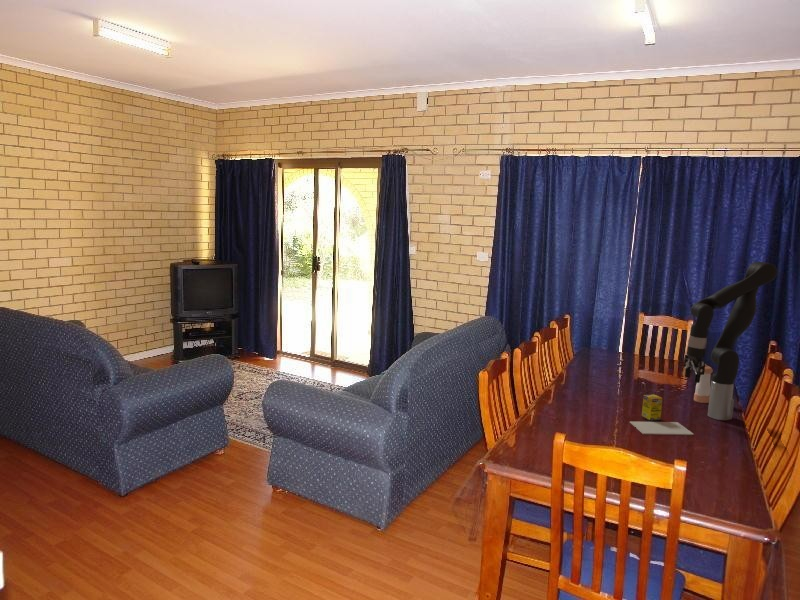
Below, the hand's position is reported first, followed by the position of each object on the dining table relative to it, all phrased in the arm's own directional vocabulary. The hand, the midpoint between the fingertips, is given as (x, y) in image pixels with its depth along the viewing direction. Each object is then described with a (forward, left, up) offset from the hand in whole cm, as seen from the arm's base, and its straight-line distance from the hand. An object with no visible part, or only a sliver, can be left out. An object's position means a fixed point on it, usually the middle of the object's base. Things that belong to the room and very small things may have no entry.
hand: (691, 379), depth 267 cm
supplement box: (+20, +4, -18) cm, 27 cm away
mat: (+21, +16, -18) cm, 32 cm away
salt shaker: (-19, -24, -18) cm, 36 cm away
